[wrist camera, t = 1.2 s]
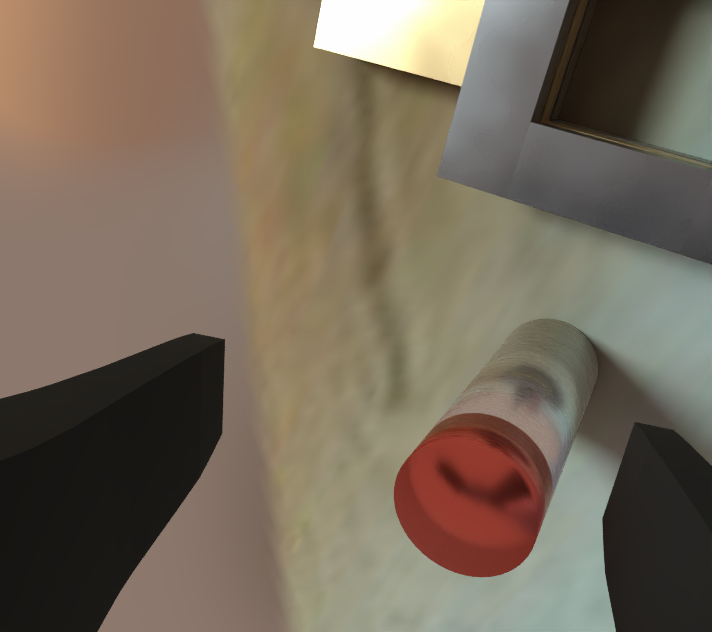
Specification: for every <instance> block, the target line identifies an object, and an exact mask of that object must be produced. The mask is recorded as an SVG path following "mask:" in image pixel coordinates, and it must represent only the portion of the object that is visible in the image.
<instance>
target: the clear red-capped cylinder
mask: <svg viewBox="0 0 712 632" xmlns="http://www.w3.org/2000/svg"><path fill="white" fill-rule="evenodd" d="M598 369H599V368H598V359H597V355H596V352H595V350H594V348H593V346H592V344H591V343H590V341H589V340H588V339H587V337H586V336H585V335H584V334H583V333H582V332H580V331H579V330H578V329H576V328H575V327H573V326H571V325H570V324H568V323H565V322H562V321H558V320H553V319H538V320H533V321H530V322H527V323H525V324H523V325H521V326H519V327H518V328H517V329H516V330H514V331H513V332H512V333H511V334H510V336H509V337H508V338H507V339H506V341H505V342H504V343H503V344H502V345H501V347H500V348H499V349H498V350H497V351H496V353H495V354H494V355H493V356H492V357H491V359H490V360H489V361H488V362H487V363H486V365H485V366H484V367H483V368H482V369H481V371H480V372H479V373H478V374H477V375H476V377H475V378H474V379H473V380H472V382H471V383H470V384H469V385H468V386H467V388H466V389H465V390H464V391H463V392H462V394H461V395H460V396H459V397H458V398H457V400H456V401H455V402H454V403H453V404H452V406H451V407H450V408H449V409H448V410H447V412H446V413H445V414H444V415H443V416H442V418H441V419H440V420H439V421H438V423H437V424H436V425H435V426H434V427H433V429H432V430H431V431H430V432H429V433H428V435H427V436H426V437H425V438H424V439H423V441H422V442H421V443H420V444H419V445H418V447H417V448H416V449H415V450H414V451H413V453H412V454H411V455H410V456H409V457H408V459H407V460H406V461H405V462H404V464H403V465H402V467H401V468H400V470H399V472H398V475H397V478H396V481H395V487H394V503H395V509H396V512H397V516H398V518H399V521H400V523H401V525H402V527H403V529H404V531H405V533H406V534H407V536H408V537H409V539H410V540H411V541H412V542H413V544H414V545H415V546H416V547H417V548H418V549H419V550H420V551H421V552H422V553H423V554H424V555H426V556H427V557H428V558H429V559H431V560H432V561H434V562H435V563H437V564H438V565H440V566H442V567H444V568H446V569H448V570H450V571H453V572H455V573H459V574H462V575H467V576H473V577H492V576H497V575H501V574H504V573H506V572H509V571H511V570H512V569H514V568H516V567H517V566H519V565H520V564H521V563H522V562H523V561H524V560H525V559H526V558H527V557H528V555H529V554H530V552H531V551H532V549H533V546H534V544H535V541H536V539H537V536H538V534H539V531H540V528H541V526H542V523H543V520H544V518H545V515H546V512H547V510H548V507H549V505H550V502H551V499H552V497H553V494H554V491H555V489H556V486H557V483H558V481H559V478H560V476H561V473H562V470H563V468H564V465H565V462H566V460H567V457H568V454H569V452H570V449H571V447H572V444H573V441H574V439H575V436H576V433H577V431H578V428H579V425H580V423H581V420H582V418H583V415H584V412H585V410H586V407H587V404H588V402H589V399H590V396H591V394H592V391H593V389H594V386H595V383H596V381H597V377H598Z"/></svg>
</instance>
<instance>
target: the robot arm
mask: <svg viewBox="0 0 712 632" xmlns="http://www.w3.org/2000/svg"><path fill="white" fill-rule="evenodd" d="M224 351H225V339H220V338H215V337H210V336H205V335H200V334H195V333H193V334H189V335H185V336H182V337H179V338H176V339H173V340H170V341H168V342H165V343H162V344H160V345H157V346H155V347H152V348H150V349H147V350H144V351H142V352H139V353H137V354H134V355H132V356H129V357H127V358H124V359H121V360H119V361H117V362H114V363H111V364H109V365H106V366H103V367H101V368H98V369H95V370H92V371H89V372H87V373H83V374H80V375H77V376H75V377H72V378H69V379H66V380H63V381H60V382H57V383H54V384H52V385H48V386H45V387H42V388H38V389H35V390H31V391H28V392H24V393H21V394H17V395H13V396H9V397H5V398H2V399H0V632H97V631H98V629H99V628H100V626H101V624H102V622H103V621H104V619H105V617H106V615H107V614H108V612H109V610H110V608H111V607H112V605H113V603H114V601H115V599H116V598H117V596H118V594H119V593H120V591H121V589H122V588H123V586H124V585H125V583H126V582H127V580H128V579H129V577H130V576H131V574H132V572H133V571H134V570H135V568H136V567H137V565H138V564H139V563H140V561H141V560H142V558H143V557H144V556H145V554H146V553H147V551H148V550H149V549H150V547H151V546H152V544H153V543H154V542H155V540H156V539H157V537H158V536H159V534H160V533H161V532H162V530H163V529H164V528H165V526H166V525H167V523H168V522H169V521H170V519H171V518H172V516H173V515H174V514H175V512H176V511H177V509H178V508H179V506H180V505H181V503H182V502H183V501H184V499H185V498H186V497H187V495H188V494H189V492H190V491H191V489H192V488H193V486H194V485H195V484H196V482H197V481H198V479H199V478H200V476H201V474H202V472H203V470H204V468H205V467H206V465H207V463H208V461H209V459H210V457H211V455H212V453H213V451H214V449H215V447H216V445H217V443H218V441H219V439H220V436H221V435H222V420H223V387H224V353H225V352H224ZM603 545H604V562H605V574H606V580H607V586H608V591H609V596H610V602H611V607H612V612H613V617H614V623H615V628H616V632H712V466H711V465H710V464H709V463H708V462H707V461H706V460H705V459H704V458H703V457H702V456H701V455H700V454H699V453H698V452H697V451H696V450H695V449H694V448H693V447H692V446H691V445H690V444H689V443H688V442H687V441H685V440H684V439H683V438H682V437H681V436H680V435H679V434H677V433H676V432H675V431H674V430H671V429H666V428H661V427H656V426H651V425H646V424H641V423H636V422H635V423H634V426H633V429H632V432H631V435H630V438H629V441H628V444H627V447H626V450H625V453H624V456H623V459H622V462H621V465H620V468H619V471H618V474H617V477H616V480H615V483H614V486H613V489H612V492H611V495H610V498H609V501H608V504H607V507H606V510H605V513H604V516H603Z"/></svg>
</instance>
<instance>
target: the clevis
mask: <svg viewBox="0 0 712 632" xmlns="http://www.w3.org/2000/svg"><path fill="white" fill-rule="evenodd" d="M596 3H597V0H322V6H321V11H320V16H319V22H318V27H317V32H316V38H315V43H314V47H317V48H320V49H324V50H328V51H332V52H335V53H339V54H343V55H346V56H350V57H354V58H358V59H361V60H365V61H369V62H372V63H376V64H380V65H384V66H387V67H391V68H395V69H398V70H402V71H406V72H410V73H413V74H417V75H421V76H424V77H428V78H432V79H436V80H439V81H443V82H447V83H450V84H454V85H458V86H461V90H460V94H459V97H458V101H457V105H456V108H455V112H454V115H453V119H452V123H451V126H450V130H449V134H448V137H447V141H446V145H445V148H444V152H443V156H442V159H441V163H440V166H439V170H438V174H437V176H438V177H441V178H444V179H447V180H450V181H454V182H457V183H460V184H463V185H466V186H469V187H472V188H475V189H479V190H482V191H485V192H488V193H491V194H494V195H497V196H500V197H503V198H507V199H510V200H513V201H516V202H519V203H522V204H525V205H528V206H532V207H535V208H538V209H541V210H544V211H547V212H550V213H553V214H557V215H560V216H563V217H566V218H569V219H572V220H575V221H578V222H582V223H585V224H588V225H591V226H594V227H597V228H600V229H603V230H607V231H610V232H613V233H616V234H619V235H622V236H625V237H628V238H632V239H635V240H638V241H641V242H644V243H647V244H650V245H653V246H656V247H660V248H663V249H666V250H669V251H672V252H675V253H678V254H681V255H685V256H688V257H691V258H694V259H697V260H700V261H703V262H706V263H710V264H712V161H709V160H706V159H702V158H698V157H695V156H691V155H687V154H684V153H680V152H676V151H673V150H669V149H665V148H662V147H658V146H654V145H651V144H647V143H643V142H640V141H636V140H632V139H629V138H625V137H621V136H617V135H614V134H610V133H606V132H603V131H599V130H595V129H592V128H588V127H584V126H581V125H577V124H573V123H570V122H566V121H562V120H559V119H558V117H559V114H560V111H561V108H562V105H563V102H564V99H565V96H566V93H567V90H568V87H569V84H570V81H571V78H572V75H573V72H574V69H575V66H576V63H577V60H578V57H579V54H580V51H581V48H582V45H583V42H584V39H585V36H586V33H587V30H588V27H589V24H590V21H591V18H592V15H593V12H594V9H595V6H596Z"/></svg>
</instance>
